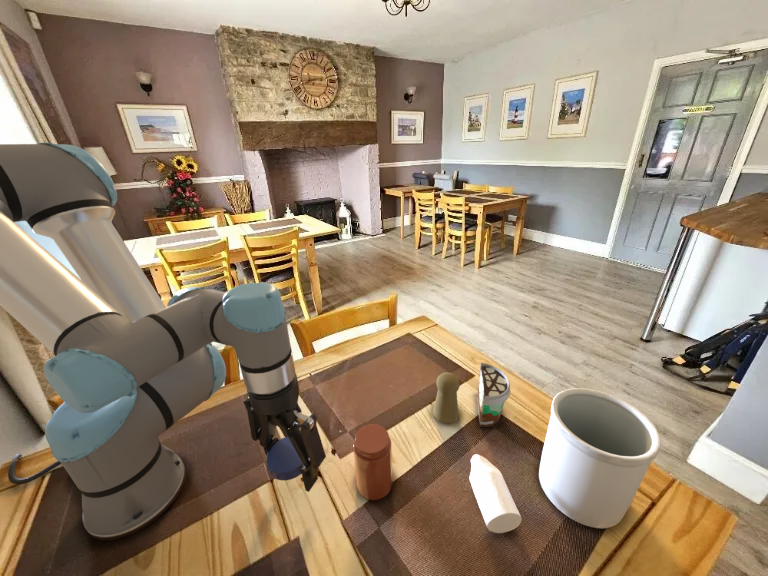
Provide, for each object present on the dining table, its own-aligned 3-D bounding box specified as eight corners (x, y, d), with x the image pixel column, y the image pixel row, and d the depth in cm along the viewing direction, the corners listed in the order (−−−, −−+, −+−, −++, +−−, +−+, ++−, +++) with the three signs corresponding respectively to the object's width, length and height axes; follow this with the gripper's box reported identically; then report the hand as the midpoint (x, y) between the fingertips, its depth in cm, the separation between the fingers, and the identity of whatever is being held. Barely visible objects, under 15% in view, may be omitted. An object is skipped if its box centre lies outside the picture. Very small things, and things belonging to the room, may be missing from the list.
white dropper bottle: (489, 464, 62) (492, 444, 60) (519, 530, 52) (525, 510, 49) (460, 467, 62) (462, 448, 60) (484, 535, 51) (488, 515, 49)
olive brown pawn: (463, 418, 73) (467, 382, 68) (441, 426, 71) (444, 389, 66) (449, 400, 78) (452, 365, 73) (428, 408, 76) (430, 372, 72)
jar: (354, 498, 57) (349, 453, 52) (360, 464, 63) (356, 421, 58) (390, 501, 56) (389, 456, 51) (393, 466, 62) (392, 423, 57)
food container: (509, 436, 68) (516, 401, 64) (480, 431, 69) (485, 398, 65) (501, 395, 79) (507, 364, 75) (476, 392, 80) (480, 361, 76)
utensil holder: (518, 459, 63) (533, 393, 56) (582, 446, 66) (605, 381, 58) (570, 541, 50) (599, 469, 43) (648, 521, 52) (689, 450, 45)
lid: (319, 451, 58) (318, 444, 57) (292, 488, 52) (290, 480, 51) (288, 437, 61) (287, 429, 60) (259, 470, 55) (256, 462, 54)
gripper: (339, 381, 47) (351, 479, 57) (244, 351, 56) (268, 440, 65) (308, 417, 41) (327, 520, 51) (206, 377, 50) (239, 471, 59)
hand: (294, 475), depth 58 cm, fingers closed on lid, 7 cm apart
